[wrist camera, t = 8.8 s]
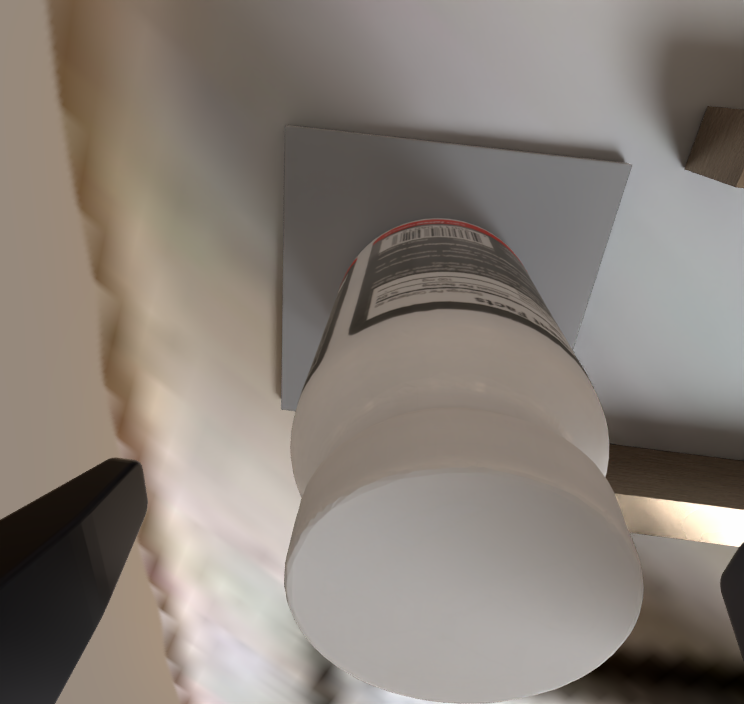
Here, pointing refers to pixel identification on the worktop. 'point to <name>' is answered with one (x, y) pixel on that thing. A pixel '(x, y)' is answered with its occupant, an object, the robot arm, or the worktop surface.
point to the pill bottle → (454, 481)
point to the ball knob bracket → (678, 470)
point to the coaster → (433, 200)
